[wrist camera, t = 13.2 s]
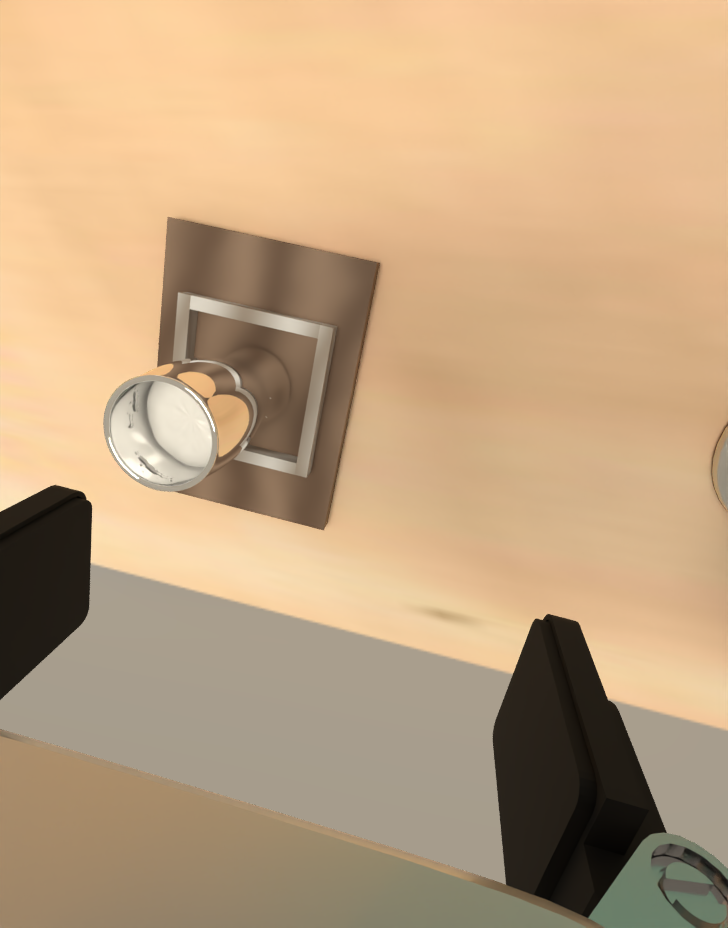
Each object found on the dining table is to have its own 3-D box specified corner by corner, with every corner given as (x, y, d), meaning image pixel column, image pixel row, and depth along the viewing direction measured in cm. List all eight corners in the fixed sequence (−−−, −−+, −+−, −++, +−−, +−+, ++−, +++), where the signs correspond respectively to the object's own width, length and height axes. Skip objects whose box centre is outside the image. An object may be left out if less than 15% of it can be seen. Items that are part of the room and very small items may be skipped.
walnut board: (379, 263, 40) (374, 261, 37) (327, 522, 48) (319, 537, 45) (177, 219, 41) (157, 214, 38) (157, 479, 49) (140, 491, 46)
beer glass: (220, 428, 45) (114, 496, 31) (206, 343, 42) (86, 373, 28) (301, 426, 43) (230, 495, 29) (291, 338, 41) (209, 367, 27)
